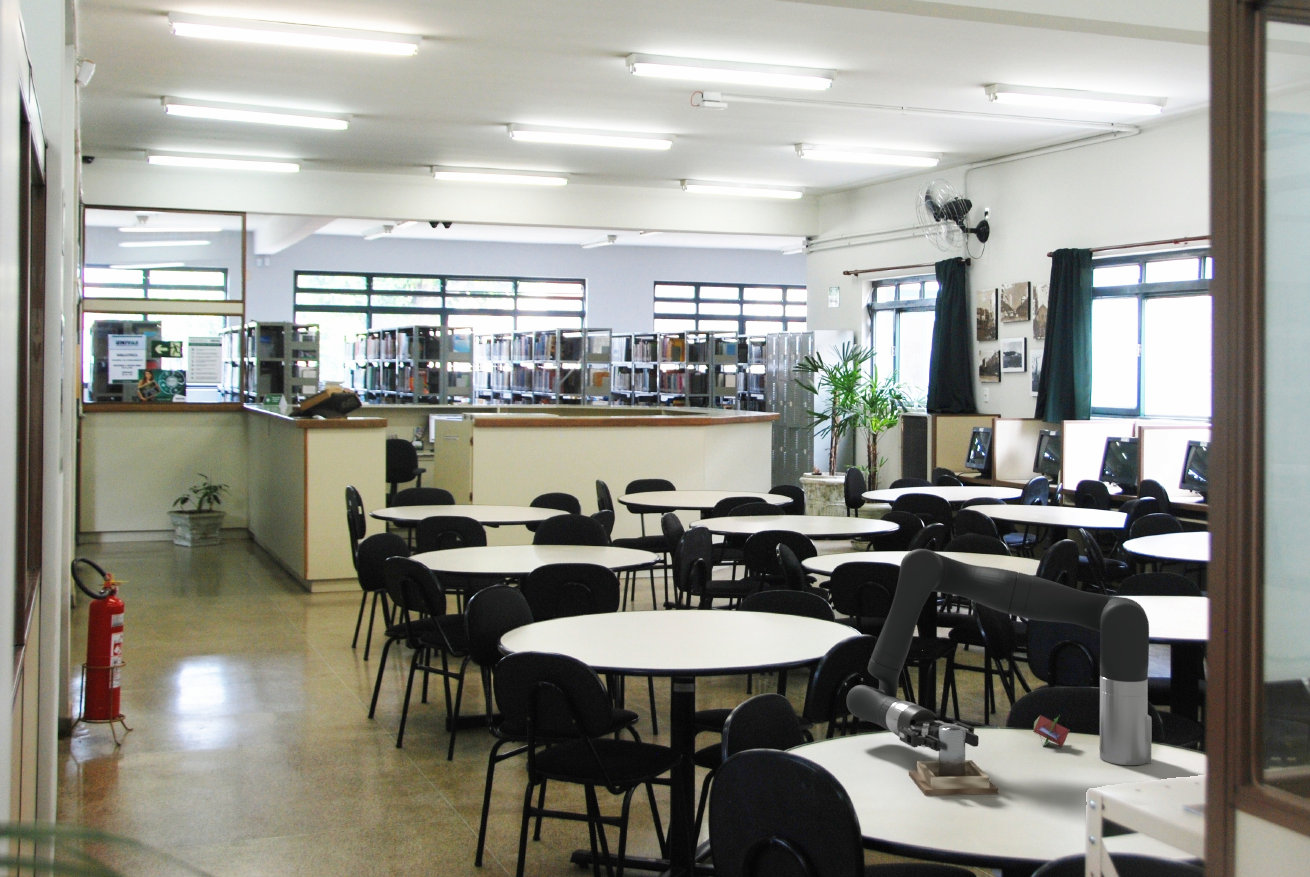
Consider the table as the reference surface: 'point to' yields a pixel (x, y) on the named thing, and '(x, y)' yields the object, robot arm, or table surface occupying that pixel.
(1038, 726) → the geometric puzzle
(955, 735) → the steel tube
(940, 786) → the wooden tray
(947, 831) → the table surface
